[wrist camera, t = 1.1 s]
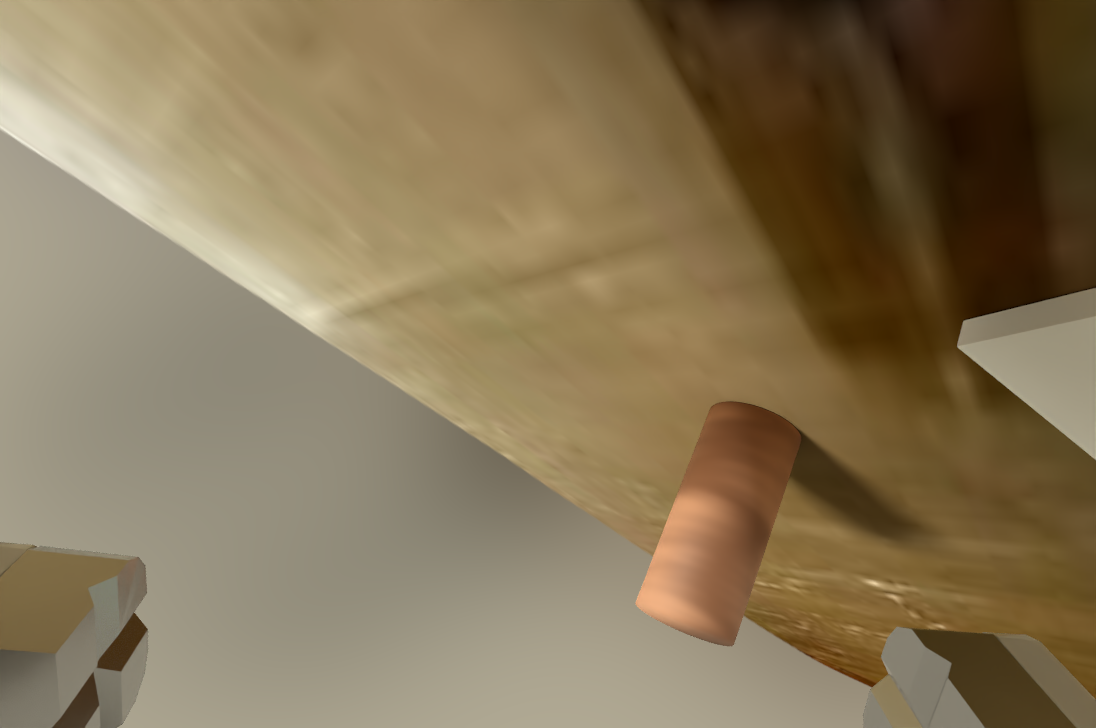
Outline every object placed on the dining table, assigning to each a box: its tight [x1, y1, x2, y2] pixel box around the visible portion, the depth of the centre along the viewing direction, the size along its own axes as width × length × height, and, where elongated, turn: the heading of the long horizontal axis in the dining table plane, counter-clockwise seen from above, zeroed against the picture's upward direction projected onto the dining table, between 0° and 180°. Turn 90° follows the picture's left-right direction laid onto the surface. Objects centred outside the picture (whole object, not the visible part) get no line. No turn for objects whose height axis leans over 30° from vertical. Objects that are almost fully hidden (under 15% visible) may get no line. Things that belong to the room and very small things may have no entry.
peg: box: [636, 402, 801, 646], centre depth 38 cm, size 4×4×10 cm
